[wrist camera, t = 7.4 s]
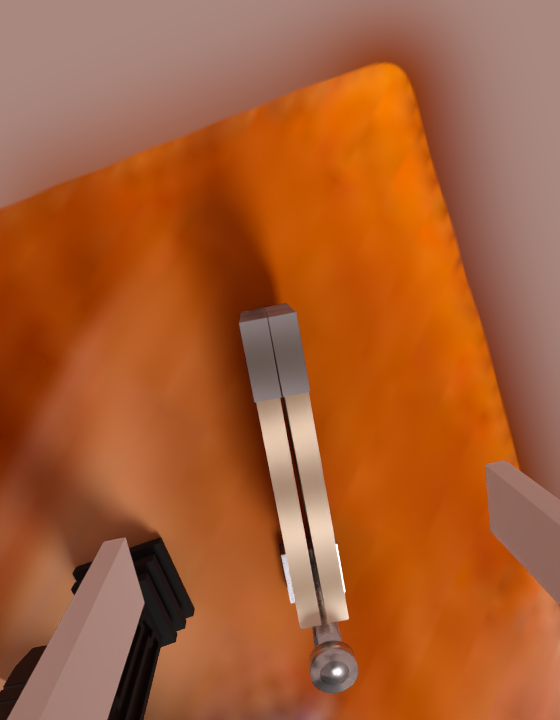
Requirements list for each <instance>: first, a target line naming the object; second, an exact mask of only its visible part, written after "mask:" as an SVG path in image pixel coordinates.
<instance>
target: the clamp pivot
mask: <svg viewBox="0 0 560 720" xmlns="http://www.w3.org/2000/svg"><path fill="white" fill-rule="evenodd" d="M334 538H335V536H334ZM306 543H307V548H308V554H309V559H310V565H311V570H312V576H313V581H314V587H315V592H316V598H317V603H318V608H319V614H320V619H321V625H319V626H314V627H312V633H313V639H314V645H315V649H314V650H313V651H312V652H311V654H310V657H309V667H310V674H311V680H312V682H313V684H314V685H315V686H316V687H317V688H318V689H319V690H321V691H323V692H327V693H337V692H341V691H344V690H346V689H348V688H349V687H350V686H351V685H352V684H353V683H354V682H355V680H356V679H357V676H358V666H357V663H356V659H355V655H354V652H353V650H352V648H351V647H350V646H349V645H348V644H346V643H344V642H342V639H341V635H340V631H339V627H338V623H337V622H333V623H328V621H327V616H326V612H325V607H324V603H323V598H322V594H321V589H320V585H319V580H318V576H317V571H316V567H315V562H314V558H313V552H312V547H311V542H310V538H309V539H306ZM335 544H336V549H337V555H338V560H339V566H340V572H341V577H342V583H343V589H344V592H345V588H344V582H343V576H342V570H341V564H340V558H339V552H338V547H337V542H336V539H335ZM280 550H281V557H282V562H283V567H284V572H285V577H286V582H287V587H288V592H289V596H290V601H291V603H295V598H294V593H293V588H292V583H291V578H290V573H289V567H288V562H287V557H286V552H285V547H284V544H280Z"/></svg>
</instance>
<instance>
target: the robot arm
mask: <svg viewBox="0 0 560 720" xmlns="http://www.w3.org/2000/svg"><path fill="white" fill-rule="evenodd" d="M485 470H486V482H487V494H488V506H489V519H490V531H491V532H492V533H493V534H494V535H495V536H496V537H497V539H498V540H499V541H500V542H501V543H502V544H503V545H504V546H505V547H506V548H507V549H508V550H509V551H510V552H511V554H512V555H513V556H514V557H515V558H516V559H517V560H518V561H519V562H520V563H521V564H522V565H523V566H524V567H525V569H526V570H527V571H528V572H529V573H530V574H531V575H532V576H533V577H534V578H535V579H536V580H537V581H538V583H539V584H540V585H541V586H542V587H543V588H544V589H545V590H546V591H547V592H548V593H549V594H550V595H551V596H552V598H553V599H554V600H555V601H556V602H557V603H558V604H559V605H560V500H559V499H558V498H556V497H555V496H553V495H552V494H551V493H549V492H548V491H547V490H545V489H544V488H543V487H541V486H540V485H538V484H537V483H536V482H534V481H533V480H532V479H530V478H529V477H528V476H526V475H525V474H523V473H522V472H521V471H519V470H518V469H517V468H515V467H514V466H513V465H511V464H510V463H508V462H507V461H506V460H504V461H499V462H495V463H490V464H485ZM144 603H145V602H144V599H143V596H142V592H141V589H140V585H139V582H138V578H137V575H136V572H135V568H134V565H133V561H132V558H131V555H130V551H129V548H128V544H127V541H126V537H124V538H119V539H114V540H109V541H104V542H103V544H102V546H101V548H100V549H99V551H98V553H97V555H96V557H95V559H94V561H93V562H92V564H91V566H90V568H89V570H88V572H87V573H86V575H85V577H84V579H83V581H82V583H81V584H80V586H79V588H78V590H77V592H76V594H75V595H74V597H73V599H72V601H71V603H70V605H69V607H68V608H67V610H66V612H65V614H64V616H63V618H62V619H61V621H60V623H59V625H58V627H57V629H56V630H55V632H54V634H53V636H52V638H51V640H50V641H49V643H48V645H46V646H41V647H36V648H32V650H31V651H30V652H29V653H28V654H27V655H26V656H25V657H24V658H23V659H22V660H21V661H20V662H19V663H18V664H17V665H16V666H15V668H14V670H13V671H12V673H11V675H10V676H9V678H8V680H7V681H6V683H5V685H4V689H3V690H1V692H0V720H107V719H108V716H109V713H110V710H111V706H112V703H113V700H114V697H115V694H116V691H117V688H118V684H119V681H120V678H121V675H122V672H123V669H124V666H125V663H126V659H127V656H128V653H129V650H130V647H131V644H132V641H133V637H134V634H135V631H136V628H137V625H138V622H139V619H140V616H141V612H142V609H143V606H144Z"/></svg>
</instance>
